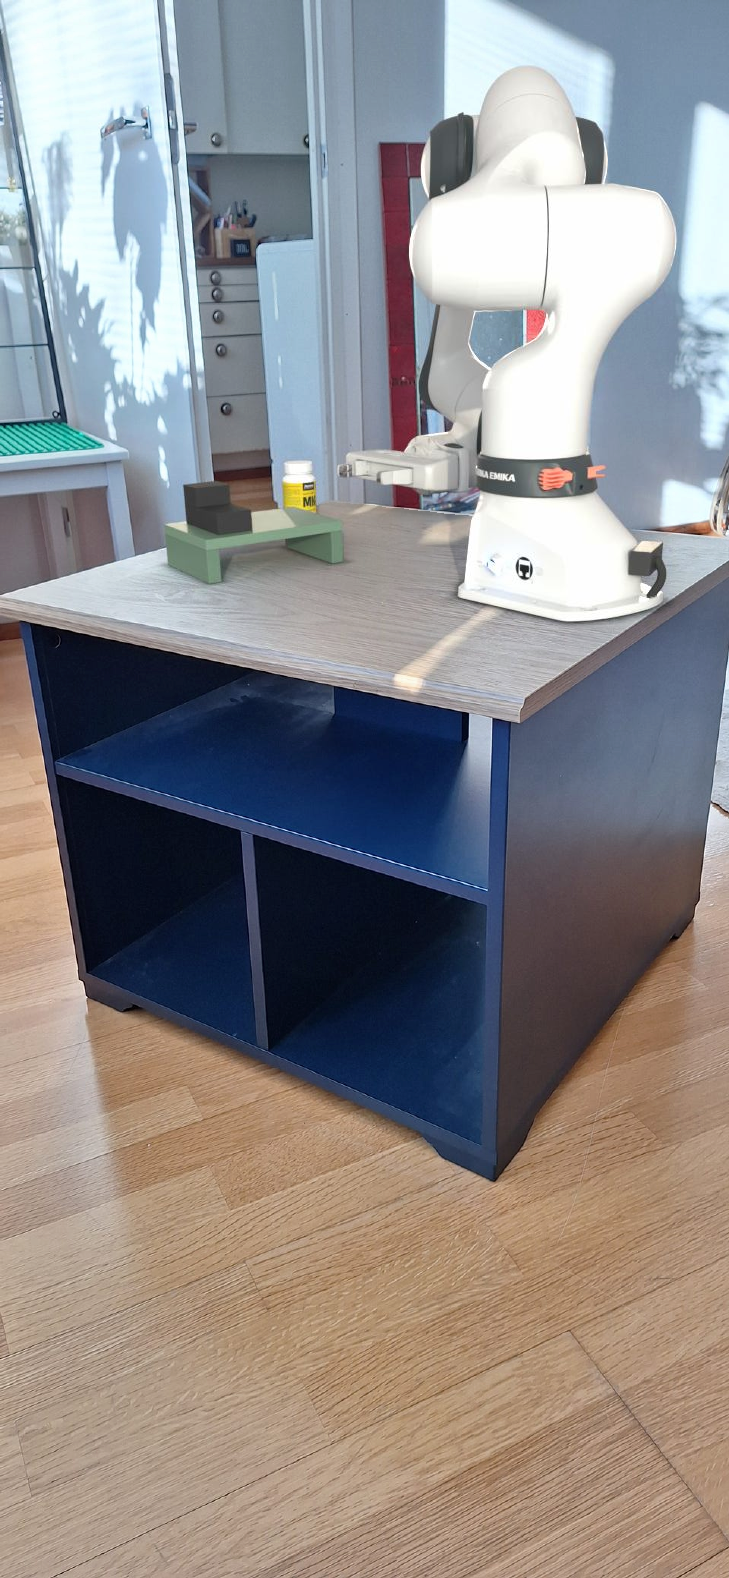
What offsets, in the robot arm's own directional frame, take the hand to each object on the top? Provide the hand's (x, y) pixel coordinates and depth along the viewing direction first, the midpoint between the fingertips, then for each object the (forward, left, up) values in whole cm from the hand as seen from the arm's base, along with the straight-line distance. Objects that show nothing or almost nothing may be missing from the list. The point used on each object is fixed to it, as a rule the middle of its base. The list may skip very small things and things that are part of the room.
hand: (359, 475), depth 163 cm
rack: (-20, +28, -5) cm, 35 cm away
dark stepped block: (-20, +32, 0) cm, 38 cm away
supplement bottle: (-1, +11, -6) cm, 12 cm away
